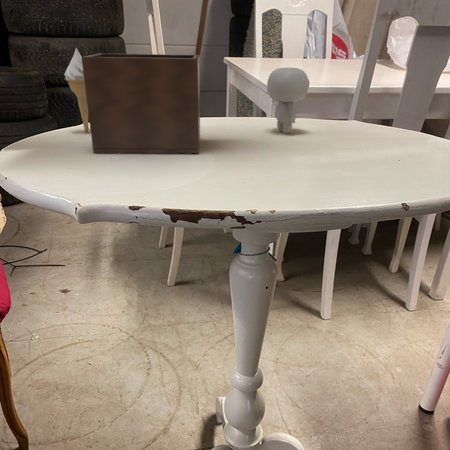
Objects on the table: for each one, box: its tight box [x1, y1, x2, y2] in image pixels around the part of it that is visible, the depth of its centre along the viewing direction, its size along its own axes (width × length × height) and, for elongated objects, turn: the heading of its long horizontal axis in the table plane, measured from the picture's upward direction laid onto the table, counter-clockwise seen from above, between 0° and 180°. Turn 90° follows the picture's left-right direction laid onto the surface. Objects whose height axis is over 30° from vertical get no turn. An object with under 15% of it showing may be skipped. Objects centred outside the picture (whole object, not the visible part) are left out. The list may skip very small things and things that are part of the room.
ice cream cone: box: [63, 47, 90, 133], centre depth 90 cm, size 6×6×15 cm
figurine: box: [266, 67, 310, 134], centre depth 94 cm, size 8×8×12 cm
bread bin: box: [82, 53, 201, 155], centre depth 80 cm, size 18×13×14 cm
